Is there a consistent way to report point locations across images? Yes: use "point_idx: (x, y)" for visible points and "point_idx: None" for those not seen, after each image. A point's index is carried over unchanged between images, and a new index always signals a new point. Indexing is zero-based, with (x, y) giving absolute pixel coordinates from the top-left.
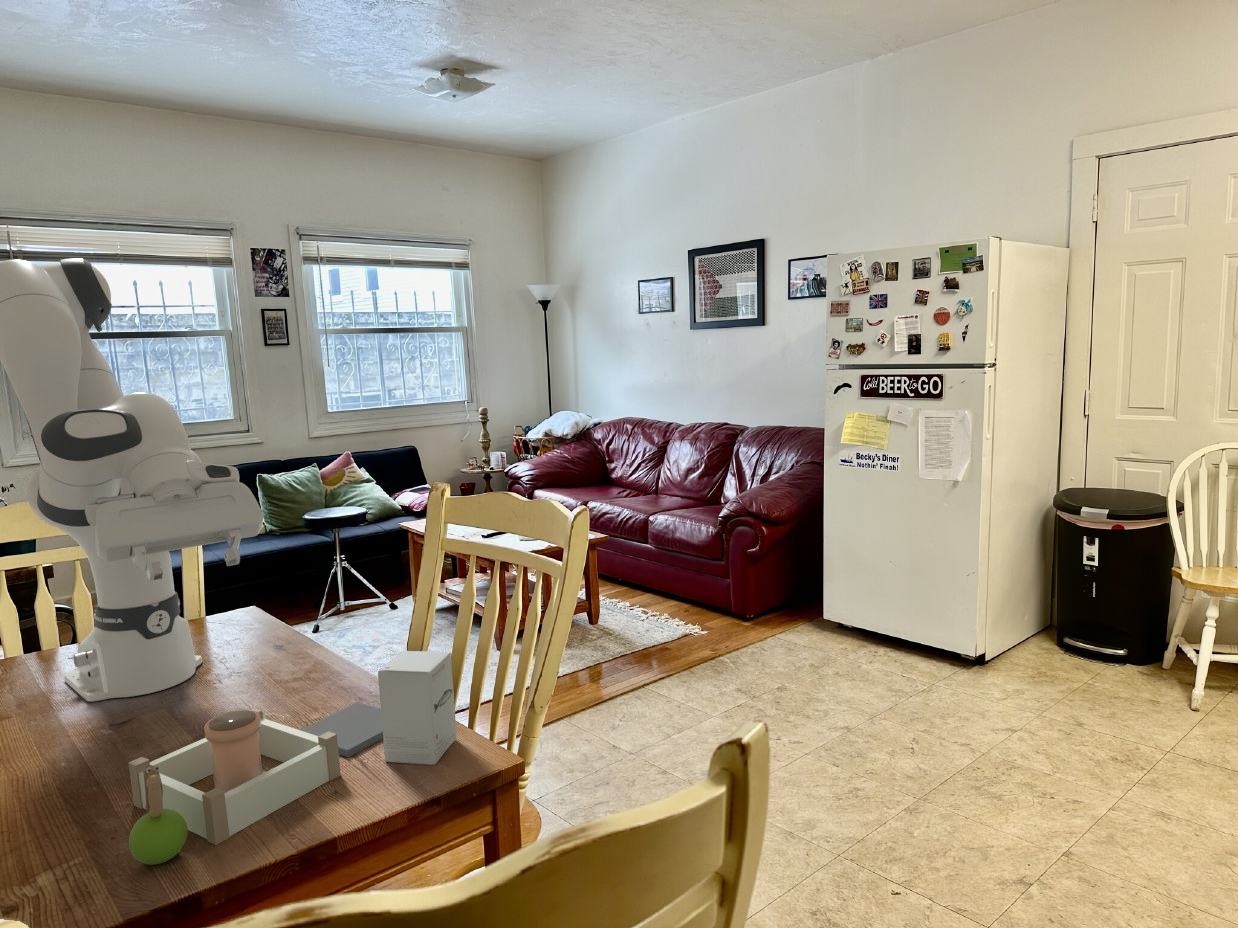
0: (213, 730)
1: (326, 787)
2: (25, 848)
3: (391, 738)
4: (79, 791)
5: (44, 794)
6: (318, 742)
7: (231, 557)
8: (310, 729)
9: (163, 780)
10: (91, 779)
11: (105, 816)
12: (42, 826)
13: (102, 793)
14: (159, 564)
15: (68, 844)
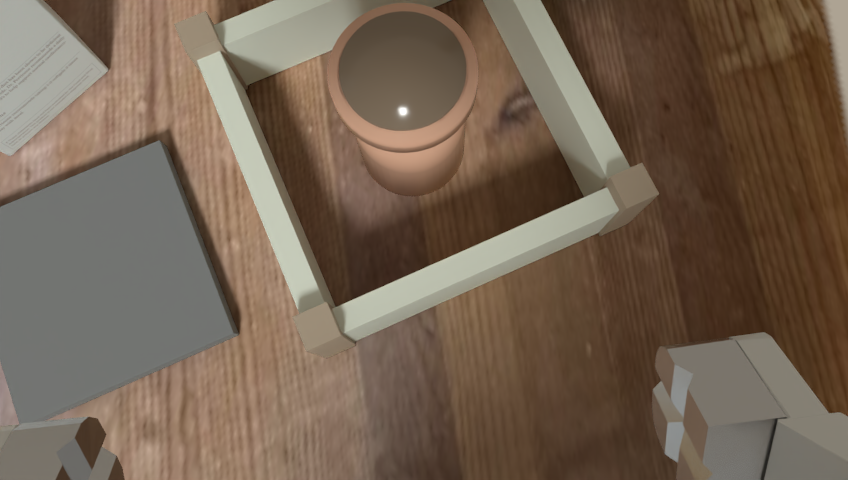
0: (458, 39)
1: None
2: (830, 174)
3: (66, 25)
4: None
5: None
6: (222, 47)
7: (55, 424)
8: (192, 323)
9: (578, 89)
10: None
11: (684, 212)
12: (810, 253)
13: (696, 338)
14: (702, 394)
15: (749, 136)
